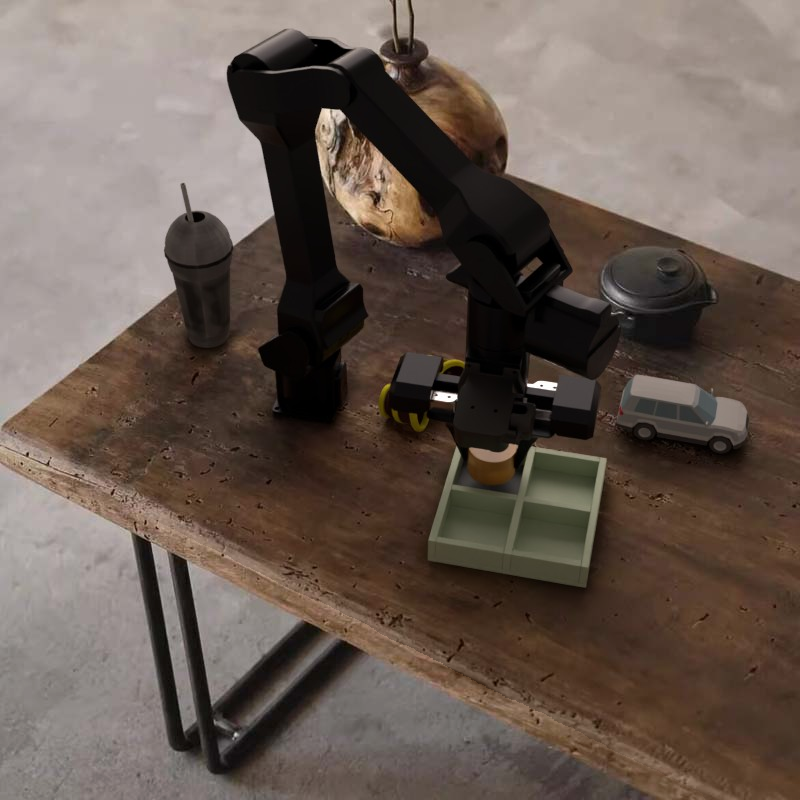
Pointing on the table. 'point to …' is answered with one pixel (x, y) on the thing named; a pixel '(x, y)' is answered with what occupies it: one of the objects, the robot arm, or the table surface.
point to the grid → (522, 518)
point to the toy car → (682, 413)
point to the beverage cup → (201, 273)
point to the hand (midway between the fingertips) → (491, 461)
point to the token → (491, 465)
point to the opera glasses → (412, 419)
